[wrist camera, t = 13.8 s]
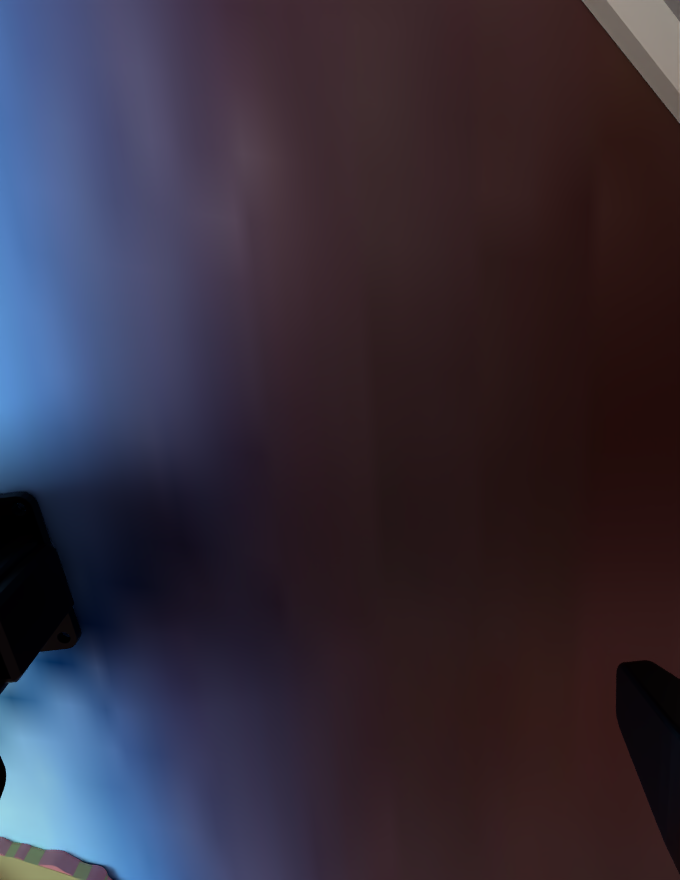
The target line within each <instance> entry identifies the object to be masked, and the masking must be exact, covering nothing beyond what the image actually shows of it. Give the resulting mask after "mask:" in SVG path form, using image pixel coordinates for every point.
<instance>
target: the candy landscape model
mask: <svg viewBox="0 0 680 880" xmlns="http://www.w3.org/2000/svg"><path fill="white" fill-rule="evenodd" d="M0 880H112V879H111V878H110V877H109V876H108V874H107V872H106V870H105V869H104V868H103V867H102V866H99V865H90V864H87V863H84V862H82V861H81V860H79V859H77V858H75V857H73V856H71V855H70V854H68V853H67V852H65V851H62V850H43V849H40V848H36V847H33V846H31V845H28V844H24V843H15V842H11V841H9V840H7V839H5V838H3V837H0Z"/></svg>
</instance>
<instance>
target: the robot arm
mask: <svg viewBox="0 0 680 880" xmlns="http://www.w3.org/2000/svg"><path fill="white" fill-rule="evenodd" d="M17 503H21V504H23V505H24V506H25V508H26V511H25V510H22V509H20V508H19V507H18V504H17ZM73 605H74V601H73V598H72V595H71V592H70V589H69V586H68V583H67V580H66V577H65V574H64V571H63V568H62V565H61V562H60V559H59V556H58V553H57V550H56V548H55V547H54V546H53V545H52V543H51V540H50V537H49V534H48V531H47V528H46V525H45V522H44V519H43V516H42V513H41V511H40V508H39V505H38V502H37V500H36V498H35V497H34V496H32V495H31V494H29V493H27V492H14V493H6V494H0V694H1V693H2V691H3V690H4V689H5V687H6V686H7V685H8V683H12V682H17V681H18V680H19V679H20V678H21V676H22V675H23V674H24V672H25V671H26V670H27V668H28V667H29V666H30V664H31V663H32V661H33V660H34V659H35V657H36V656H37V655H38V653H39V652H41V651H50V650H59V649H68V648H71V647H73V646H74V645H75V644H76V643H77V641H78V640H79V638H80V636H81V629H80V626H79V623H78V620H77V617H76V614H75V611H74V608H73ZM62 632H64V633H67V634H69V636H70V637H68V636H65V635H64V634H63V633H62ZM616 714H617V720H618V724H619V727H620V730H621V733H622V735H623V738H624V741H625V743H626V746H627V748H628V751H629V753H630V756H631V759H632V761H633V764H634V766H635V769H636V771H637V774H638V776H639V779H640V782H641V784H642V787H643V789H644V792H645V794H646V797H647V800H648V802H649V805H650V807H651V810H652V812H653V815H654V817H655V820H656V823H657V825H658V828H659V830H660V832H661V835H662V837H663V840H664V842H665V845H666V847H667V849H668V851H669V853H670V855H671V857H672V859H673V862H674V864H675V866H676V868H677V870H678V872H679V874H680V679H679V678H677V677H675V676H674V675H672V674H671V673H669V672H668V671H666V670H665V669H663V668H661V667H660V666H658V665H657V664H655V663H653V662H651V661H647V660H643V661H633V662H623V663H621V664H620V665H619V666H618V668H617V674H616ZM5 782H6V769H5V766H4V763H3V761H2V759H1V756H0V798H1V795H2V793H3V790H4V787H5Z"/></svg>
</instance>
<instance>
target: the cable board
mask: <svg viewBox="0 0 680 880" xmlns="http://www.w3.org/2000/svg"><path fill="white" fill-rule="evenodd" d="M582 1H583V2H584V4H585V5H586V6H587V7H588V9H589V10H590V11H591V13H592V14H593V15H594V16H595V18H596V19H597V20H598V21H599V23H600V24H601V25H602V26H603V28H604V29H605V30H606V31H607V33H608V34H609V35H610V36H611V38H612V39H613V40H614V41H615V43H616V44H617V45H618V46H619V48H620V49H621V50H622V51H623V53H624V54H625V55H626V56H627V58H628V59H629V60H630V62H631V63H632V64H633V65H634V67H635V68H636V69H637V70H638V72H639V73H640V74H641V75H642V77H643V78H644V79H645V80H646V82H647V83H648V84H649V85H650V87H651V88H652V89H653V90H654V92H655V93H656V94H657V95H658V97H659V98H660V99H661V100H662V102H663V103H664V104H665V106H666V107H667V108H668V109H669V111H670V112H671V113H672V114H673V116H674V117H675V118H676V119H677V121H678V122H679V123H680V0H582Z"/></svg>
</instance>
